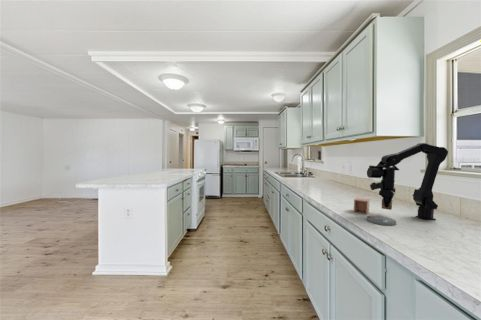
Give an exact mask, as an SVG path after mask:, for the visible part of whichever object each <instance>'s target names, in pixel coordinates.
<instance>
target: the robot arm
mask: <svg viewBox="0 0 481 320" xmlns="http://www.w3.org/2000/svg"><path fill="white" fill-rule="evenodd" d="M421 152H422V153H423V154H426V160H427V165H426V167H425V172H424V174H423V178H422V181H421V184H420V187H419V188H418V189H416V188H415V189H414V191H413V194H412V195H411V196H412V197H413V198H412V200H413V201H414V203H415V205H416V206H418V208H417V215H415V218H418V219H421V220H423V221H424V220H425V221H436V220H437V219H436V218H434V214H435V213H434V212H435V211H434V210H437V209H438V207H439V205H438V204H437V203H436V201H434V193H433V188H434V184H435V181H436V177H437V175H438V173H439V168H440V165H441V164H442V163H443V162H444V161H445V160H446V158H447V156H448V154H449V150H448V149H447V148H446V147H444V146H436V145H433V144H429V143H426V142H420V143H419V142H418V143H417V144H416V145H413V146H410V147H409V148H406V149H404V150H401V151H399V152H396V153H391V154H386V155H383V156H382V157H381V159H380V161H379V162H378V163H377V165H372V164H371V165H369V166H368V168H367V170H366V175H367V177H368V179H380V178H381V179H380V181H379V182H375V181H374V182H371V183H370V184H369V187H370V189H371V191H375V190H377V189H380V190H378V195H379V196H380V197H382V199H384V204H385V207H388V206H389V204H390V202H391V200H392V201H393V198H394V196H395V193H396V187H395V177H396V174H395V172H396V171H400V169H399V168H398V166H397V165H398V164H400V163H401V162H402V161H403V160H405V159H407V158H410V157H412V156H414V155H417V154H419V153H421Z"/></svg>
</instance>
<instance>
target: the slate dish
mask: <svg viewBox="0 0 481 320" xmlns="http://www.w3.org/2000/svg"><path fill="white" fill-rule="evenodd" d="M365 220H366V221H368V222H369V223H372V224H375V225H381V226H390V227H391V226H396V225H397V220H396V219H393V218H391V217H387V216H383V215H367V216H366V217H365Z"/></svg>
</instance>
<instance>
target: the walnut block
mask: <svg viewBox="0 0 481 320" xmlns="http://www.w3.org/2000/svg"><path fill="white" fill-rule="evenodd" d="M392 209H393V199H392V200H391V202H390V204H389V206H388V207H385V204H384V199H383V198H381V210H389V211H392Z"/></svg>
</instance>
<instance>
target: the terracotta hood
mask: <svg viewBox="0 0 481 320" xmlns="http://www.w3.org/2000/svg"><path fill="white" fill-rule="evenodd" d="M370 201H371V199H369V198H363V197H356V198H354V200H353V212H354V213H355V212H357V211H360V212H365V214H366V215H368V214H369V213H370Z"/></svg>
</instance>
